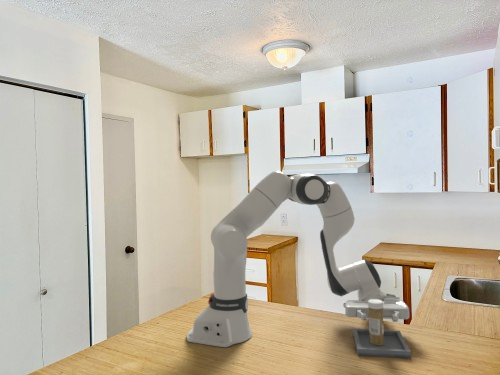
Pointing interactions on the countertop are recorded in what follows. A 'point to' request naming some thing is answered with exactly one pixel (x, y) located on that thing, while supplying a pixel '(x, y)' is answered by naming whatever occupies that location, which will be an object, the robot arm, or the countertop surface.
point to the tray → (390, 348)
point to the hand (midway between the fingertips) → (379, 318)
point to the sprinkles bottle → (376, 322)
